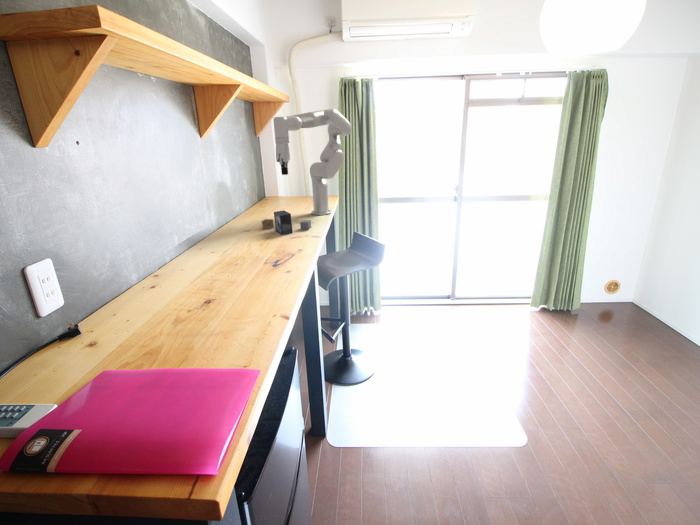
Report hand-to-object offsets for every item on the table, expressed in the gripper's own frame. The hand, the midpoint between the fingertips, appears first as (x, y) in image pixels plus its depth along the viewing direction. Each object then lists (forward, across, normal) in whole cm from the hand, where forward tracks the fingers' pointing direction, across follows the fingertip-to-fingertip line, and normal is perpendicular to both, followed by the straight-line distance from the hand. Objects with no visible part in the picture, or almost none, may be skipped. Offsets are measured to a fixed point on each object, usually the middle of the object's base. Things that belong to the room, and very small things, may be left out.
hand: (285, 174), depth 210 cm
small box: (+27, +24, +6) cm, 37 cm away
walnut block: (+27, +17, -6) cm, 33 cm away
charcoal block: (+27, +17, +16) cm, 36 cm away
